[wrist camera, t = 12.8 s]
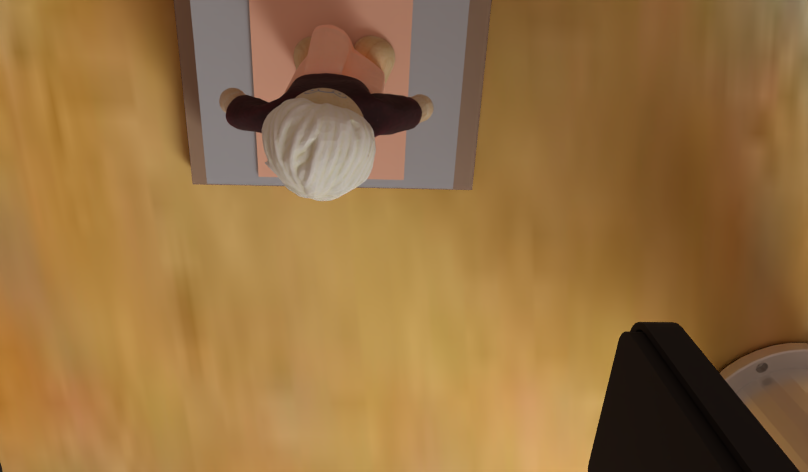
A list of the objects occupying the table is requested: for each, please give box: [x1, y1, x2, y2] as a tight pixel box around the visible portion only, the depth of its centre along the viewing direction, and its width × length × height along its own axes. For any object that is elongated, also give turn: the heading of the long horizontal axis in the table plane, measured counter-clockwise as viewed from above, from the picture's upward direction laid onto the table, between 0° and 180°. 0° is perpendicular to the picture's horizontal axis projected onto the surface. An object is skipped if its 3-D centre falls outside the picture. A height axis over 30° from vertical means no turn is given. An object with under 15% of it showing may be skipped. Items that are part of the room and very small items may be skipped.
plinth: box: [174, 0, 492, 190], centre depth 31 cm, size 16×16×7 cm
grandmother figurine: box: [219, 24, 434, 201], centre depth 22 cm, size 8×4×13 cm, turn 98°
